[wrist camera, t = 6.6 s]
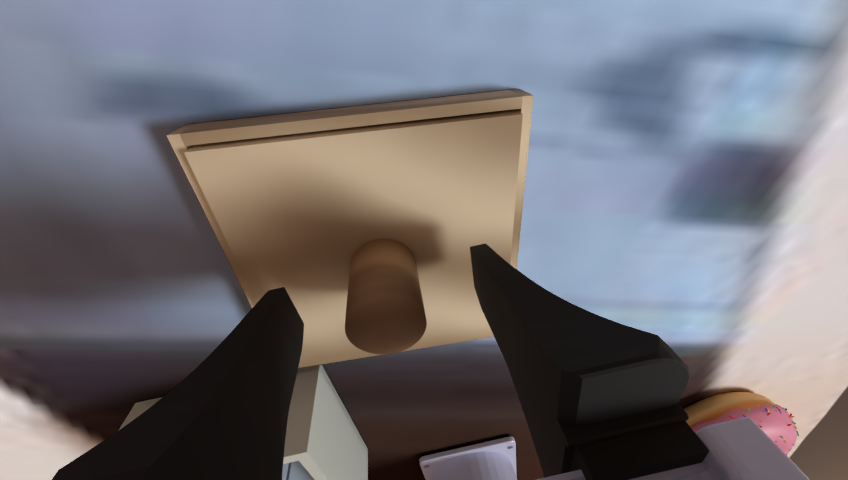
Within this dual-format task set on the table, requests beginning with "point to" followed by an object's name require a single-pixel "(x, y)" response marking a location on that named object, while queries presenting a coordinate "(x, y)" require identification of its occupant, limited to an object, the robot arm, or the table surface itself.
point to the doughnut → (745, 415)
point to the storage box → (313, 429)
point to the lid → (367, 213)
